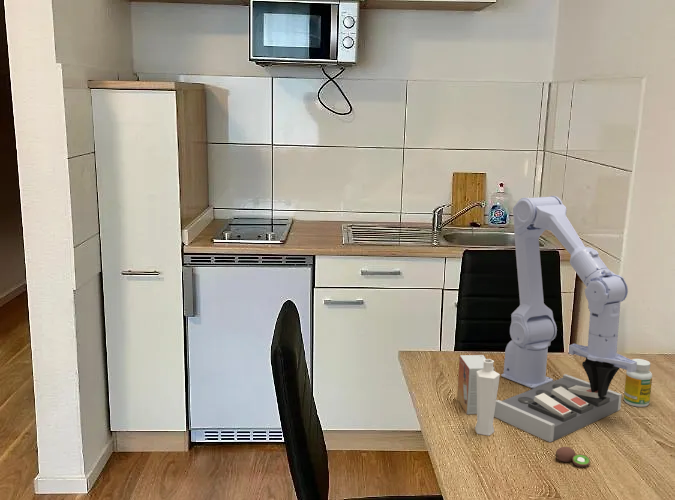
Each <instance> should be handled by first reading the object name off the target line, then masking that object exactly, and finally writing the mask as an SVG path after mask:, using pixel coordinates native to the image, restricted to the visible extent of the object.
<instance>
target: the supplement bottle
mask: <svg viewBox="0 0 675 500" xmlns="http://www.w3.org/2000/svg"><path fill="white" fill-rule="evenodd" d="M631 360H633V361H637V368H636V371H634V372H627V370H625V371H626V372H625V382H624V389H623V390H624V393H623V400H624V401H623V402H625V403H626V404H628V405H630V406H633V407H637V408H639V407H641V408H643V407H644V408H645V407H647V406H648V405H650V400H651V392H652V383H653V373H652V372H651V371H650V369H651V362H650V361H649V360H646V359H642V358H632V359H631Z"/></svg>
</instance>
